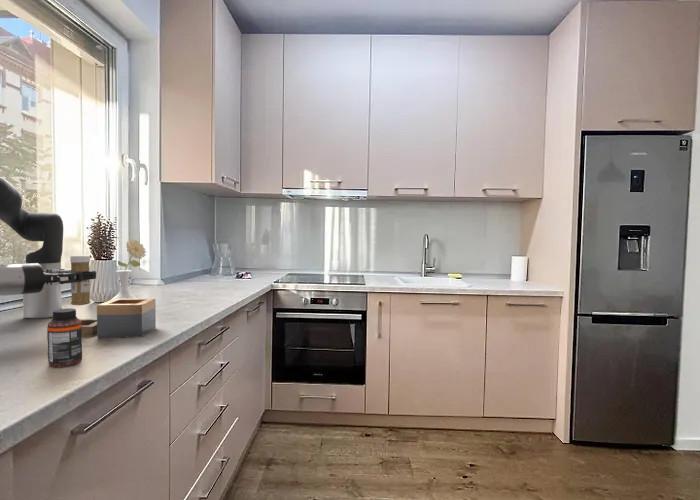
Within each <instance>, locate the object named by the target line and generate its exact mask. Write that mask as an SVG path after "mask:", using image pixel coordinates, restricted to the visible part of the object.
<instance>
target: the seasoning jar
mask: <svg viewBox="0 0 700 500" xmlns="http://www.w3.org/2000/svg"><path fill="white" fill-rule="evenodd" d="M90 262H91V256H90V255H89V254H73V255H70V270H71V272H78V271H80V272H84V271H90ZM74 279H76V275H74ZM90 280H91V279H89V280H82V282H74V283H70V294H71V302H70V304H71V305H72V306H85V305H89V304H91V300H90V299H91V298H90V295H91V294H90V292H91V283H90V282H91V281H90Z"/></svg>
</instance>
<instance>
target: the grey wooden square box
mask: <svg viewBox="0 0 700 500" xmlns="http://www.w3.org/2000/svg"><path fill="white" fill-rule="evenodd" d="M156 316H157V314H156V298H155V297H153V298H137V299H113V300H111V299H110V300H108V301H105V302H102V303H99V304H96V319H97V334H96V335H97V336H96V338H97V339H103V338H104V339H105V338H106V339H109V338H110V339H112V338H115V339H116V338H143V337H144V336H146V335H147V334H149V333H150V332H152V331H153V330H156V328H157V327H156V326H157V325H156V323H157V322H156V321H157V320H156Z"/></svg>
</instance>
